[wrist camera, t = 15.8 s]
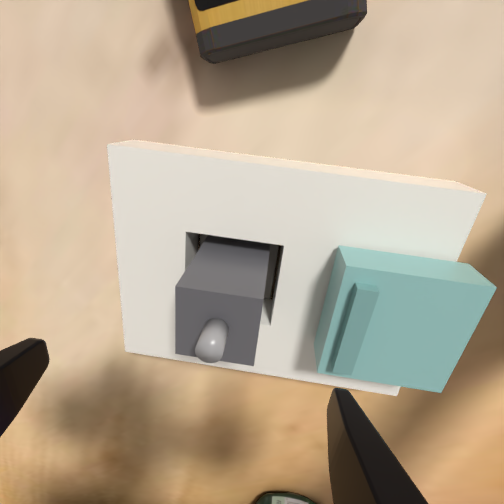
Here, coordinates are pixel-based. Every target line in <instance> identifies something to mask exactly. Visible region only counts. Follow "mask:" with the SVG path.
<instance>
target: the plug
mask: <svg viewBox="0 0 504 504" xmlns="http://www.w3.org/2000/svg"><path fill="white" fill-rule="evenodd" d="M269 252H270V244H269V243H262V242H255V241H248V240H241V239H234V238H227V237H220V236H213V235H208V236H207V237H206V239H205V241H204V242H203V244H202V245H201V247H200V248H199V250H198V252H197V253H196V255H195V256H194V258H193V259H192V261H191V262H190V264H189V266H188V267H187V269H186V270H185V272H184V273H183V275H182V277H181V278H180V280H179V281H178V283H177V284H176V286H175V354H180V355H186V356H192V357H198V358H199V359H200V360H201V361H203V362H206V363H216V362H218V361H224V362H230V363H236V364H242V365H249V366H254V362H255V355H256V348H257V341H258V334H259V327H260V321H261V314H262V307H263V300H264V292H265V284H266V276H267V268H268V260H269Z"/></svg>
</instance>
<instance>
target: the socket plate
mask: <svg viewBox="0 0 504 504" xmlns="http://www.w3.org/2000/svg"><path fill="white" fill-rule="evenodd" d="M107 150H108V161H109V173H110V184H111V195H112V207H113V218H114V229H115V241H116V252H117V263H118V275H119V286H120V297H121V309H122V320H123V331H124V343H125V352H131V353H137V354H143V355H149V356H155V357H162V358H168V359H174V360H180V361H186V362H192V363H198V364H204V365H210V366H216V367H223V368H229V369H235V370H241V371H247V372H253V373H259V374H265V375H271V376H277V377H284V378H290V379H296V380H302V381H308V382H314V383H320V384H326V385H332V386H338V387H344V388H351V389H357V390H363V391H369V392H375V393H381V394H387V395H393V396H397V394H398V392H399V390H400V388H401V386H395V385H389V384H383V383H377V382H370V381H364V380H358V379H352V378H346V377H340V376H333V375H327V374H321V373H317V368H316V359H315V350H314V340H315V336H316V332H317V328H318V324H319V320H320V316H321V313H322V309H323V305H324V301H325V297H326V293H327V289H328V285H329V281H330V277H331V273H332V269H333V265H334V261H335V257H336V253H337V249H338V245H340V246H347V247H355V248H362V249H369V250H376V251H383V252H390V253H397V254H404V255H411V256H418V257H425V258H432V259H439V260H446V261H453V262H457V260H458V257H459V255H460V253H461V251H462V248H463V246H464V244H465V242H466V239H467V237H468V235H469V233H470V230H471V228H472V226H473V224H474V221H475V219H476V217H477V215H478V212H479V210H480V208H481V206H482V203H483V201H484V199H485V197H486V193H484V192H481V191H479V190H476V189H474V188H471V187H469V186H467V185H464V184H462V183H459V182H457V181H452V180H444V179H436V178H428V177H421V176H413V175H405V174H397V173H390V172H382V171H374V170H366V169H359V168H351V167H343V166H335V165H328V164H320V163H312V162H305V161H297V160H289V159H281V158H274V157H266V156H258V155H250V154H243V153H235V152H227V151H219V150H212V149H204V148H196V147H188V146H181V145H173V144H165V143H157V142H150V141H142V140H134V139H133V140H128V141H122V142H117V143H111V144H107ZM199 234H201V236H200V247H201V245H202V244H203V242H204V241H205V239H206V237H207V236H208V235H213V236H220V237H227V238H234V239H241V240H248V241H255V242H262V243H269V244H270V252H269V260H268V268H267V276H266V284H265V292H264V300H263V307H262V314H261V321H260V327H259V334H258V341H257V348H256V355H255V362H254V366H249V365H242V364H236V363H230V362H224V361H218V362H216V363H206V362H203V361H201V360H200V359H199V358H198V357H192V356H186V355H180V354H175V286H176V284H177V283H178V281H179V280H180V278H181V277H182V275H183V273H184V272H185V270H186V269H187V267H188V266H189V264H190V262H191V261H192V259H193V258H194V256H195V255H196V253H197V252H198V240H199ZM279 245H282V246H281V252H280V258H279V264H278V270H277V276H276V282H275V288H274V294H273V299H270V296H271V290H272V284H273V278H274V271H275V265H276V259H277V253H278V247H279Z"/></svg>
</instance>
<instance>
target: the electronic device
mask: <svg viewBox="0 0 504 504" xmlns="http://www.w3.org/2000/svg"><path fill="white" fill-rule="evenodd" d="M188 1H189V6H190V10H191V15H192V19H193V24H194V28H195V32H196V37H197V42H198V46H199V51H200V55H201V58H203V59H204V60H206V61H208V62H209V63H213V64H214V63H219V62H223V61H227V60H231V59H235V58H239V57H243V56H247V55H251V54H254V53H258V52H262V51H266V50H270V49H274V48H278V47H282V46H286V45H290V44H294V43H298V42H302V41H306V40H310V39H314V38H318V37H321V36H325V35H329V34H333V33H337V32H341V31H345V30H349V29H352V28H354V27H356V26H357V25H358V24H359V23H360V22H361V21H362V20H363V19H364V17H365V16H366V14H367V1H366V0H188Z"/></svg>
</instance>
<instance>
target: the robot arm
mask: <svg viewBox="0 0 504 504" xmlns="http://www.w3.org/2000/svg"><path fill="white" fill-rule="evenodd" d="M48 364H49V355H48V350H47V346H46V342H45V341H44V340H42V339H37V338H28V339H26V340H24V341H21V342H19V343H17V344H15V345H12V346H10V347H8V348H6V349H3V350H1V351H0V437H1V435H2V434H3V433H4V432H5V430H6V429H7V428H8V426H9V425H10V424H11V422H12V421H13V420H14V418H15V417H16V415H17V414H18V413H19V411H20V410H21V408H22V407H23V405H24V403H25V402H26V400H27V399H28V397H29V395H30V394H31V392H32V391H33V389H34V388H35V386H36V384H37V383H38V381H39V380H40V378H41V376H42V375H43V373H44V372H45V370H46V369H47V367H48ZM327 432H328V459H329V473H330V482H331V489H332V496H333V503H334V504H428V502H427V501H426V500H425V498H424V497H423V495H422V494H421V492H420V491H419V490H418V488H417V487H416V485H415V484H414V483H413V481H412V480H411V478H410V477H409V475H408V474H407V473H406V471H405V470H404V468H403V467H402V466H401V464H400V463H399V461H398V460H397V458H396V457H395V456H394V454H393V453H392V451H391V450H390V449H389V447H388V446H387V444H386V443H385V441H384V440H383V439H382V437H381V436H380V434H379V433H378V432H377V430H376V429H375V427H374V426H373V424H372V423H371V422H370V420H369V419H368V417H367V416H366V415H365V413H364V412H363V410H362V409H361V407H360V406H359V405H358V403H357V402H356V400H355V399H354V398H353V396H352V395H351V393H350V392H349V391H348V390H346V389H341V388H334V389H333V391H332V394H331V397H330V400H329V403H328V407H327Z"/></svg>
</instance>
